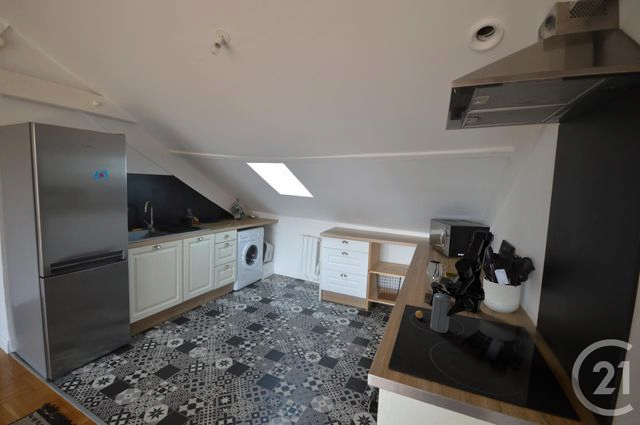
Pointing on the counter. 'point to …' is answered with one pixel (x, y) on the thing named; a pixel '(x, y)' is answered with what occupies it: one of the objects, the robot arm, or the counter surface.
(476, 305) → the robot arm
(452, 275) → the flower pot
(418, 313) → the ball
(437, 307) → the tumbler
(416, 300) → the counter surface
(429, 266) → the wineglass
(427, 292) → the walnut block
